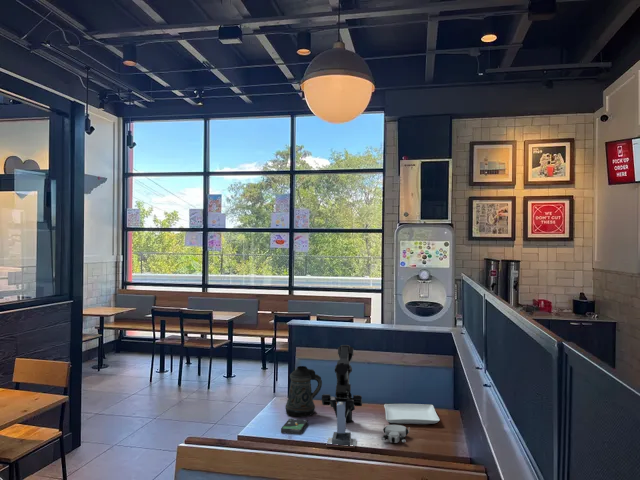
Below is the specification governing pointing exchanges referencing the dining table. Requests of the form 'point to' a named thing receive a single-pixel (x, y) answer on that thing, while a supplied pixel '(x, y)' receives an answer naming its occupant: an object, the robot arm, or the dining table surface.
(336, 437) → the frame
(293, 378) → the beer stein
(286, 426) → the disk drive
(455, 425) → the dining table surface
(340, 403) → the light blue tall block
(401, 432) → the robot toy
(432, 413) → the square plate
